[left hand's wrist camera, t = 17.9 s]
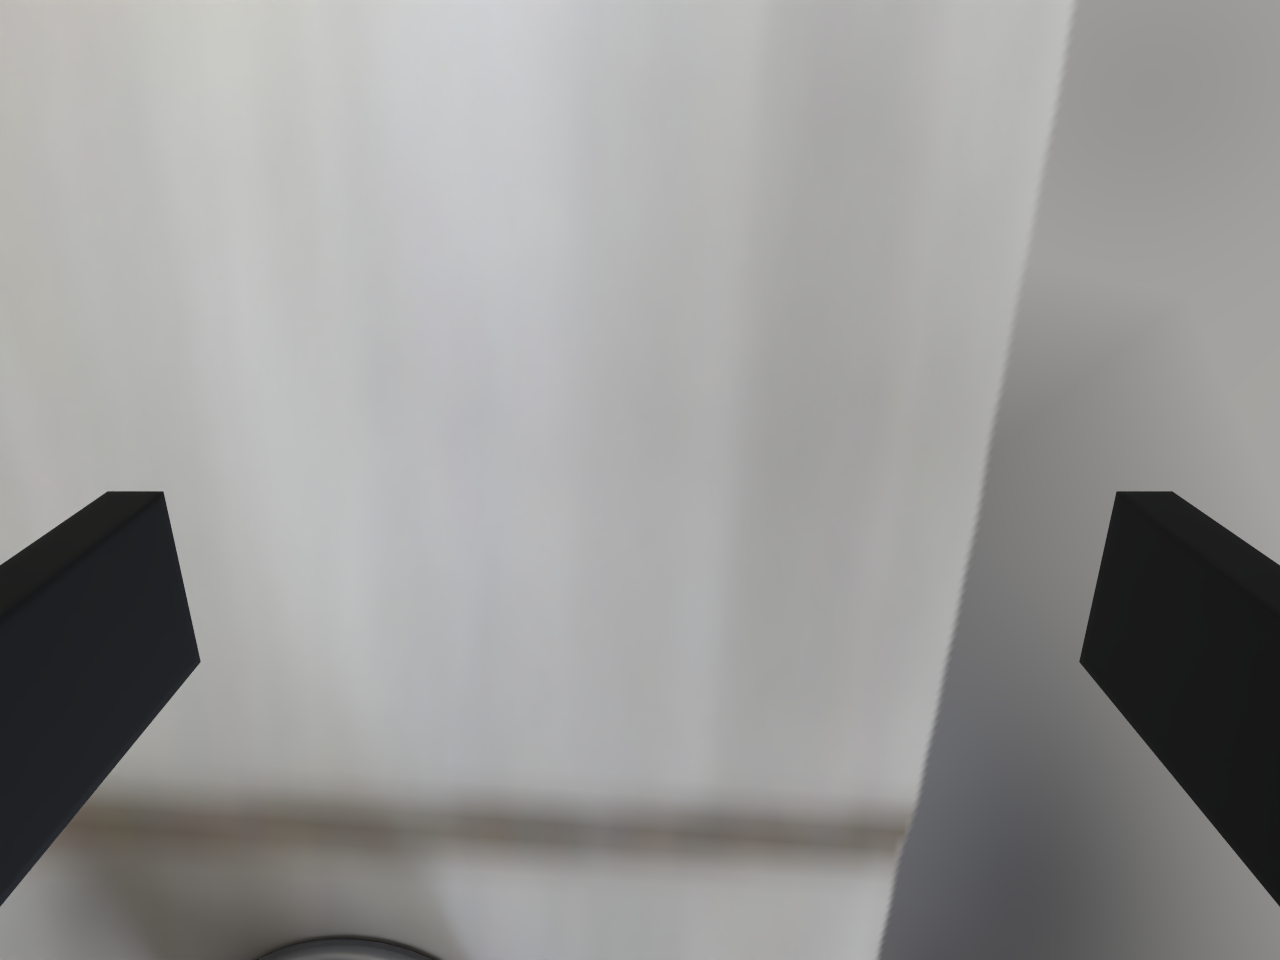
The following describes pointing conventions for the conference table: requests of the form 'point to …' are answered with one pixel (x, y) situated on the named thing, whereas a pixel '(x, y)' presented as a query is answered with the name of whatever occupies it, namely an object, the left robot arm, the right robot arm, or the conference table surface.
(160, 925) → the conference table surface
